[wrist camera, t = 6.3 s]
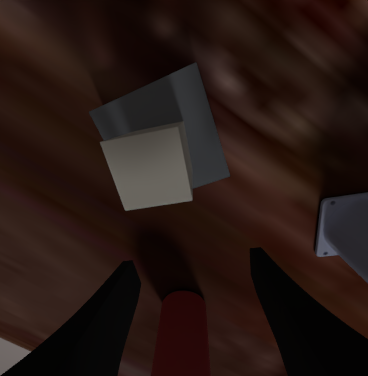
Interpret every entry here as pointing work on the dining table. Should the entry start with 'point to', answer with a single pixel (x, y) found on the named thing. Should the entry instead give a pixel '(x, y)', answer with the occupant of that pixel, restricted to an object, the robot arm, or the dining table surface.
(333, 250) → the robot arm
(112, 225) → the dining table surface
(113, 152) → the cream block
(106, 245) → the dining table surface
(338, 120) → the dining table surface
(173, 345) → the beer can
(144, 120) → the plate
